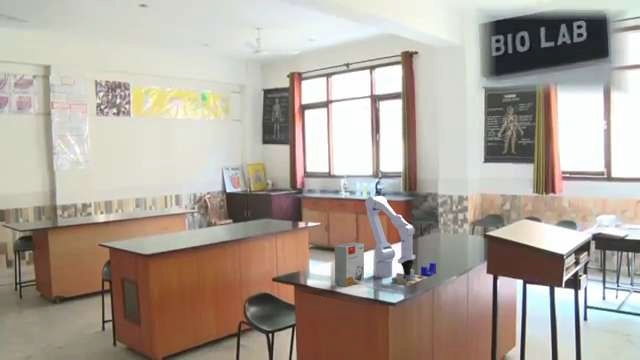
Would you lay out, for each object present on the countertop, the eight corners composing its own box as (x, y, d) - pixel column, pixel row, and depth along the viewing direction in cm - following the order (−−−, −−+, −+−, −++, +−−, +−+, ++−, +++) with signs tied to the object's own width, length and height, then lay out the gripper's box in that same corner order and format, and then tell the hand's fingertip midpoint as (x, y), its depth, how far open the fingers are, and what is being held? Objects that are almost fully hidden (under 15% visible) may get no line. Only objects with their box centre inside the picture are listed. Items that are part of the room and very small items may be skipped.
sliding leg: (413, 280, 255) (413, 271, 254) (405, 279, 258) (405, 269, 257) (416, 279, 257) (416, 270, 257) (408, 278, 260) (408, 268, 260)
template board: (407, 287, 245) (407, 275, 245) (390, 284, 252) (390, 273, 251) (428, 278, 262) (428, 267, 262) (411, 276, 269) (411, 265, 268)
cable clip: (428, 279, 263) (428, 267, 263) (421, 277, 266) (421, 266, 265) (438, 274, 272) (438, 263, 272) (431, 273, 275) (430, 262, 275)
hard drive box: (346, 287, 248) (345, 247, 247) (334, 285, 253) (333, 246, 252) (364, 281, 260) (364, 243, 259) (353, 279, 265) (352, 241, 264)
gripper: (406, 251, 247) (407, 278, 247) (420, 247, 258) (420, 273, 259) (394, 250, 251) (394, 276, 252) (408, 245, 262) (408, 271, 263)
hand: (407, 274), depth 255 cm, fingers closed
